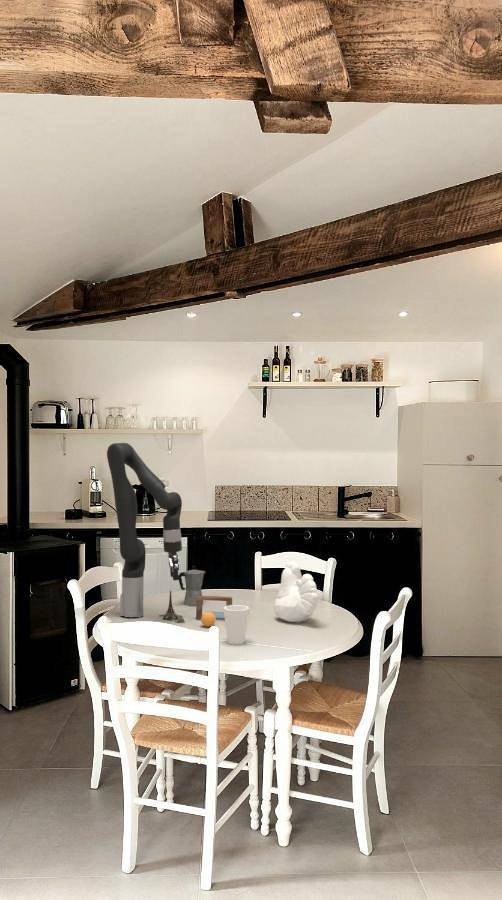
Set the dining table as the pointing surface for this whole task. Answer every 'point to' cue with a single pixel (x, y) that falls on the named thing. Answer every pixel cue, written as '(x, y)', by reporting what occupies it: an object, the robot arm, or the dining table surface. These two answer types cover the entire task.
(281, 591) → the decorative rooster
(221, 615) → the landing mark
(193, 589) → the coffeepot
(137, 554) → the robot arm
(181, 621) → the eiffel tower figurine
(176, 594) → the dining table surface
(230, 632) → the foam cup
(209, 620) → the ball
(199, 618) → the bridge
